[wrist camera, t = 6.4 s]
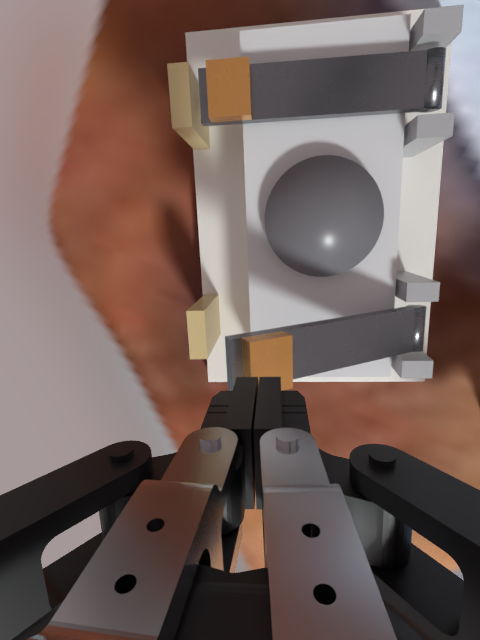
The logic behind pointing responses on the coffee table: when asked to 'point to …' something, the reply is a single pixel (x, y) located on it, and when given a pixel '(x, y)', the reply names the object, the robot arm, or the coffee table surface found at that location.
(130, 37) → the coffee table surface
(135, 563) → the robot arm
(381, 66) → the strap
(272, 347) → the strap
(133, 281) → the coffee table surface
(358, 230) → the base
